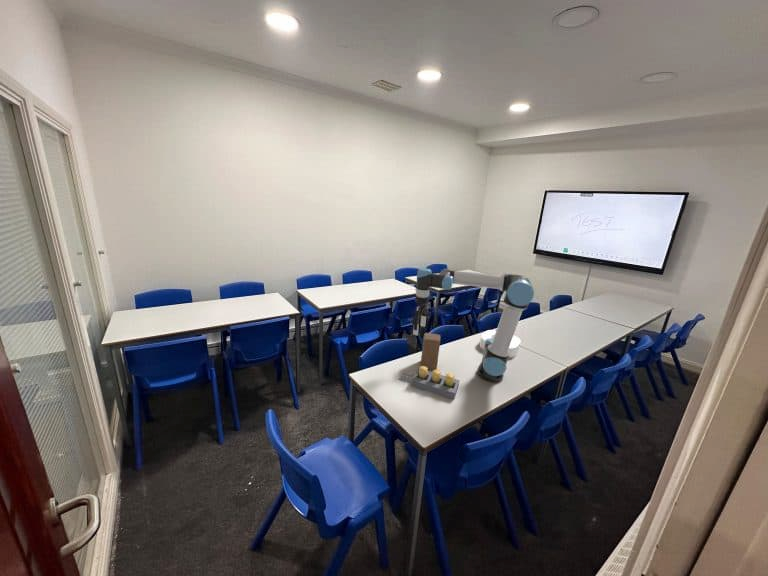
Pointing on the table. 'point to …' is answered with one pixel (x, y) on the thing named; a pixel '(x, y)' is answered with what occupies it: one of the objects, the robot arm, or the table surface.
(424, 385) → the button board
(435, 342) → the wooden block
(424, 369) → the button
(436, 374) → the button
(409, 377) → the pattern tile
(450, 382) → the button
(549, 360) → the table surface
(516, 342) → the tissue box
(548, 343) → the table surface
